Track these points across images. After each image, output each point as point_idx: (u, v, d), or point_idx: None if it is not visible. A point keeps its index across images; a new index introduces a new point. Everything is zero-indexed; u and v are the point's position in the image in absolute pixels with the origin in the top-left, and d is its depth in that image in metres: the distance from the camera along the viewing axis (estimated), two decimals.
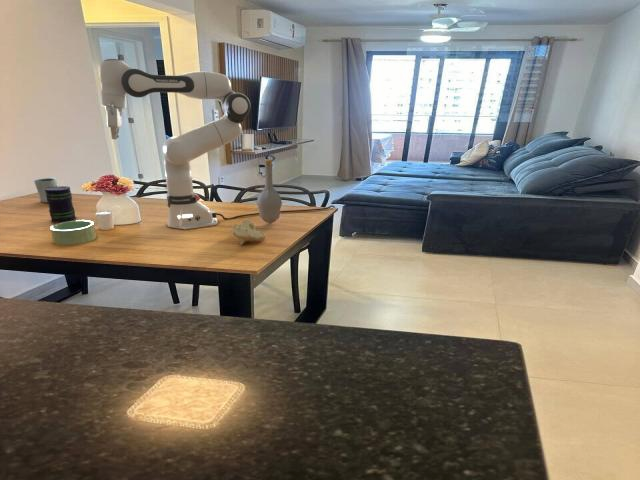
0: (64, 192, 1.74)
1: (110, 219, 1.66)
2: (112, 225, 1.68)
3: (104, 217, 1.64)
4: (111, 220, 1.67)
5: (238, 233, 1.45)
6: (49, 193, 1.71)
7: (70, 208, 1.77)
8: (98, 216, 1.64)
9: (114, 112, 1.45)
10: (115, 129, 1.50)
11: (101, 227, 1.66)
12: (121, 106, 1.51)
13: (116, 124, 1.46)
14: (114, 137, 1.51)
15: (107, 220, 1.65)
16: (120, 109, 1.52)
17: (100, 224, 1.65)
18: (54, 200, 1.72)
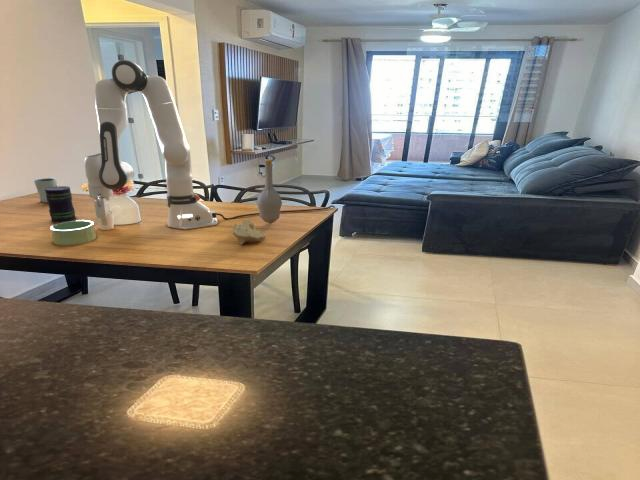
0: (64, 192, 1.74)
1: (110, 219, 1.66)
2: (112, 225, 1.68)
3: None
4: (111, 220, 1.67)
5: (238, 233, 1.45)
6: (49, 193, 1.71)
7: (70, 208, 1.77)
8: None
9: (101, 204, 1.57)
10: None
11: (101, 227, 1.66)
12: (107, 195, 1.62)
13: (104, 215, 1.58)
14: (105, 223, 1.65)
15: (107, 220, 1.65)
16: (107, 197, 1.63)
17: (100, 224, 1.65)
18: (54, 200, 1.72)
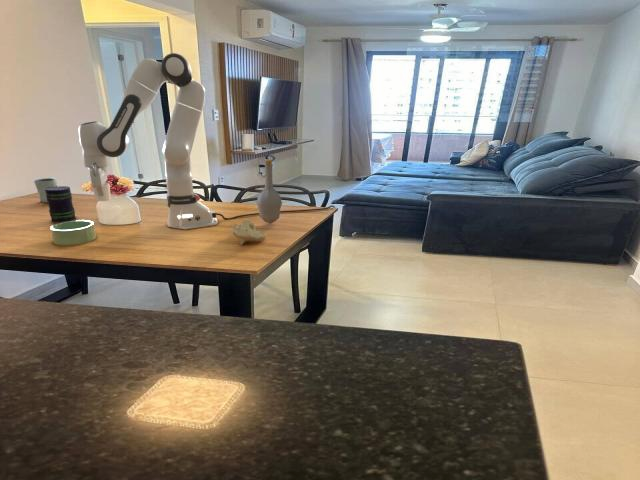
0: (64, 192, 1.74)
1: (106, 190, 1.62)
2: (109, 197, 1.64)
3: None
4: (107, 191, 1.63)
5: (238, 233, 1.45)
6: (49, 193, 1.71)
7: (70, 208, 1.77)
8: None
9: (97, 173, 1.53)
10: (101, 187, 1.59)
11: (97, 198, 1.62)
12: (103, 165, 1.58)
13: (100, 184, 1.54)
14: (101, 194, 1.61)
15: (103, 191, 1.61)
16: (103, 167, 1.59)
17: (96, 195, 1.61)
18: (54, 200, 1.72)
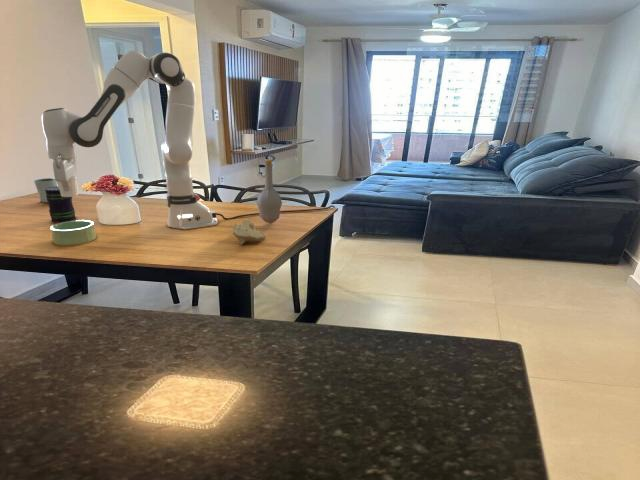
0: None
1: (73, 185, 1.47)
2: (76, 192, 1.48)
3: None
4: (74, 186, 1.47)
5: (238, 233, 1.45)
6: (49, 193, 1.71)
7: (70, 208, 1.77)
8: None
9: (60, 165, 1.37)
10: (66, 181, 1.43)
11: (63, 194, 1.46)
12: (69, 156, 1.42)
13: (64, 178, 1.38)
14: (67, 189, 1.45)
15: (69, 186, 1.45)
16: (69, 159, 1.44)
17: (61, 190, 1.46)
18: (54, 200, 1.72)
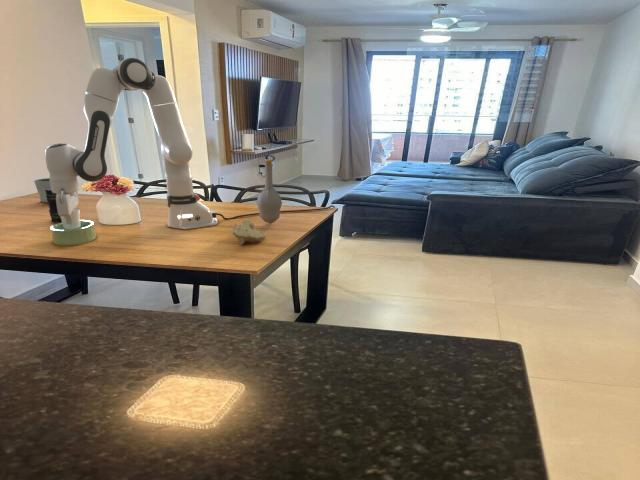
0: None
1: (75, 217, 1.49)
2: (78, 224, 1.51)
3: None
4: (77, 218, 1.50)
5: (238, 233, 1.45)
6: (49, 193, 1.71)
7: None
8: None
9: (63, 200, 1.40)
10: (69, 214, 1.46)
11: (65, 226, 1.49)
12: (72, 190, 1.45)
13: (67, 212, 1.41)
14: (69, 222, 1.47)
15: None
16: (72, 193, 1.46)
17: (64, 223, 1.48)
18: (54, 200, 1.72)
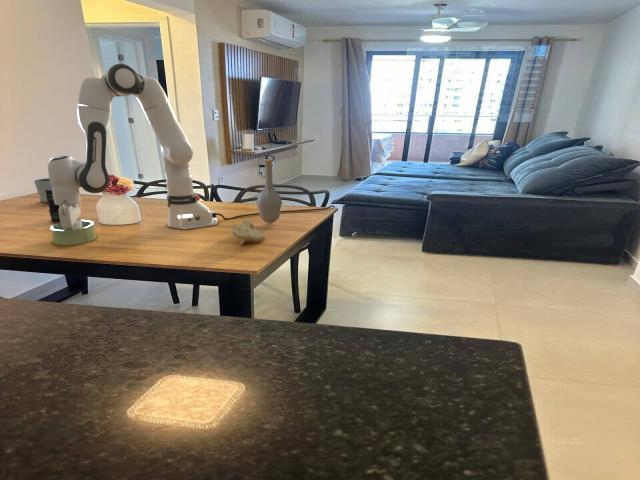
0: None
1: None
2: None
3: None
4: None
5: (238, 233, 1.45)
6: (49, 193, 1.71)
7: None
8: None
9: (66, 212, 1.41)
10: (71, 227, 1.46)
11: None
12: (74, 202, 1.46)
13: (70, 224, 1.42)
14: None
15: None
16: (74, 204, 1.48)
17: None
18: None
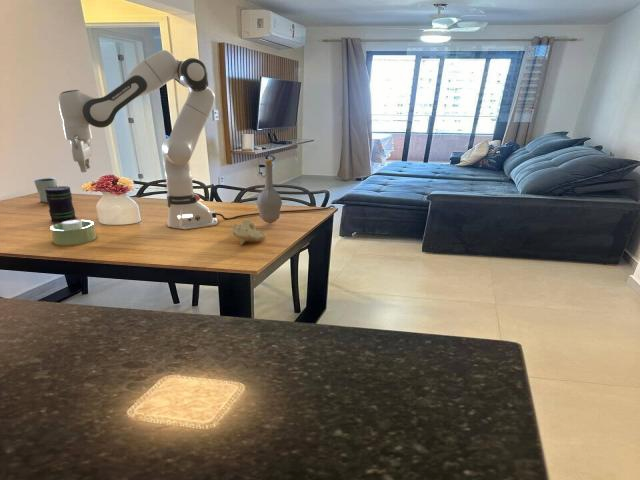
0: (64, 192, 1.74)
1: None
2: None
3: (71, 227, 1.49)
4: None
5: (238, 233, 1.45)
6: (49, 193, 1.71)
7: (70, 208, 1.77)
8: (64, 225, 1.48)
9: (78, 145, 1.41)
10: (83, 162, 1.46)
11: None
12: (86, 137, 1.47)
13: (82, 157, 1.43)
14: (83, 170, 1.48)
15: None
16: (85, 140, 1.48)
17: None
18: (54, 200, 1.72)
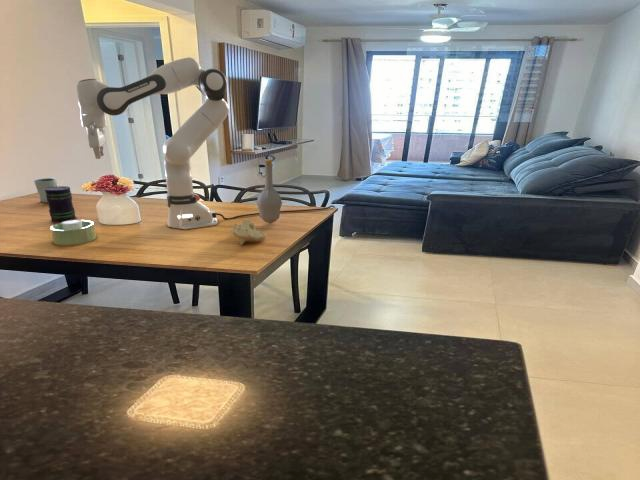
0: (64, 192, 1.74)
1: None
2: None
3: (71, 227, 1.49)
4: None
5: (238, 233, 1.45)
6: (49, 193, 1.71)
7: (70, 208, 1.77)
8: (64, 225, 1.48)
9: (94, 132, 1.47)
10: (98, 149, 1.51)
11: None
12: (101, 125, 1.52)
13: (98, 144, 1.48)
14: (98, 156, 1.53)
15: None
16: (101, 128, 1.53)
17: None
18: (54, 200, 1.72)
